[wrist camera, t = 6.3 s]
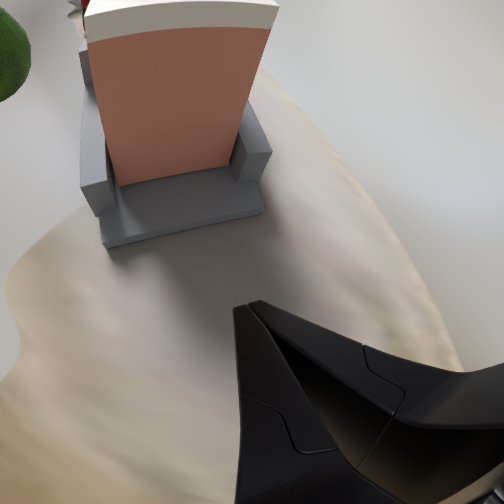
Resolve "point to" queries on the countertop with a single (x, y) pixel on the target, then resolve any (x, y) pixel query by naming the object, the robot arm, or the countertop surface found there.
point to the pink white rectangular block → (173, 79)
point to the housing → (167, 182)
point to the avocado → (12, 55)
